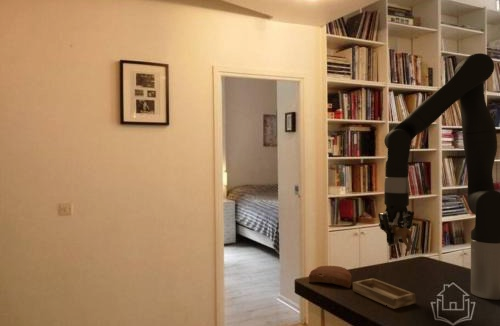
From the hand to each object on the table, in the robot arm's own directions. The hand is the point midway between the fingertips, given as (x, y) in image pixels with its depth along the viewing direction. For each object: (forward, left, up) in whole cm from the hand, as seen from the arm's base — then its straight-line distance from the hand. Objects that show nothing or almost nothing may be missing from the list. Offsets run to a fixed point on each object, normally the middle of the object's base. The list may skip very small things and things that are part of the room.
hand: (396, 242), depth 127 cm
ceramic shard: (+11, -18, -16) cm, 27 cm away
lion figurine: (0, +1, -1) cm, 2 cm away
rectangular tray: (+8, +2, -16) cm, 18 cm away
